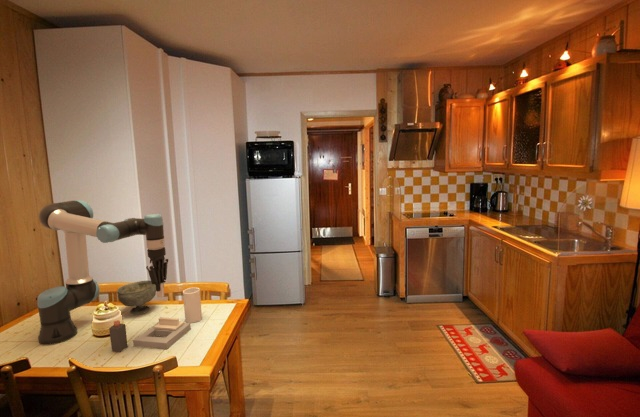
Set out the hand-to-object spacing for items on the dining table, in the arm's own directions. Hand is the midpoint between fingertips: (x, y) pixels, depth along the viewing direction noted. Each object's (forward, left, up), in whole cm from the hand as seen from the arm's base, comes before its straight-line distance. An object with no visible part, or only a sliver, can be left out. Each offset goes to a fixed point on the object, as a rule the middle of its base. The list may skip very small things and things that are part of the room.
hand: (160, 296), depth 166 cm
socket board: (0, -1, -20) cm, 20 cm away
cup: (+4, +18, -20) cm, 27 cm away
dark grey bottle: (-13, -14, -20) cm, 27 cm away
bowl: (-33, +23, -20) cm, 45 cm away
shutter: (0, +4, -16) cm, 17 cm away
